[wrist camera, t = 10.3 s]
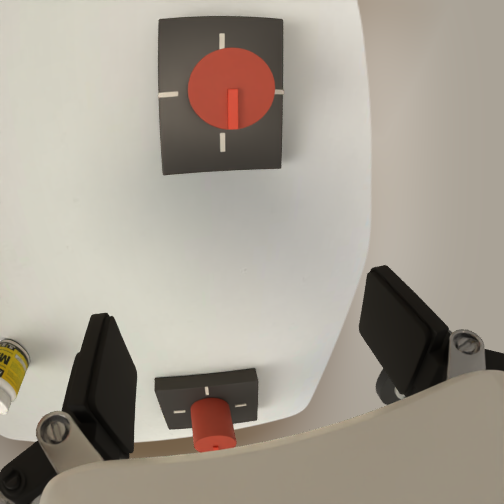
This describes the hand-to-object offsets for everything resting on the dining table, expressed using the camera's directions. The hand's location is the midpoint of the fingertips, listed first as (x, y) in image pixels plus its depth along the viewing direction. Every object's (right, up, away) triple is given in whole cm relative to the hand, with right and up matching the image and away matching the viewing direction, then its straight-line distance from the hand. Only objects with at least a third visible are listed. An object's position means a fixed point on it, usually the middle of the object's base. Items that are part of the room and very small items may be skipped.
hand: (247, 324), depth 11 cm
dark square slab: (-2, +15, +11) cm, 19 cm away
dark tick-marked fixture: (-5, -16, +26) cm, 31 cm away
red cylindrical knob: (-2, +14, +9) cm, 17 cm away
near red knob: (-5, -17, +24) cm, 30 cm away
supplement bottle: (-29, -10, +18) cm, 35 cm away
